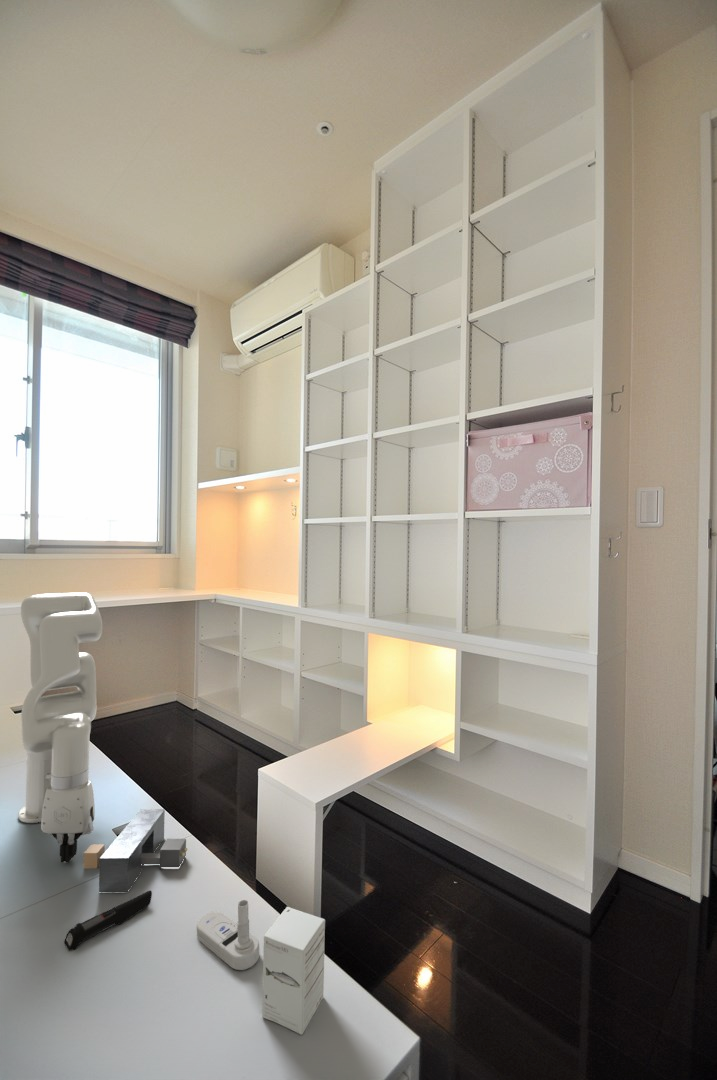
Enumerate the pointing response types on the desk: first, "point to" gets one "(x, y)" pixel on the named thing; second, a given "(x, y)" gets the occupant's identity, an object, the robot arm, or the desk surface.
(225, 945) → the electronic device
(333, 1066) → the desk surface
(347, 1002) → the desk surface
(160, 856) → the lever
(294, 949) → the supplement box
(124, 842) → the block
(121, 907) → the electric trimmer
